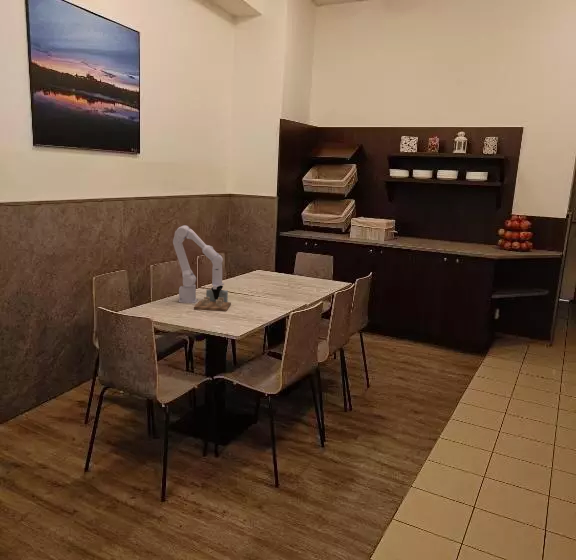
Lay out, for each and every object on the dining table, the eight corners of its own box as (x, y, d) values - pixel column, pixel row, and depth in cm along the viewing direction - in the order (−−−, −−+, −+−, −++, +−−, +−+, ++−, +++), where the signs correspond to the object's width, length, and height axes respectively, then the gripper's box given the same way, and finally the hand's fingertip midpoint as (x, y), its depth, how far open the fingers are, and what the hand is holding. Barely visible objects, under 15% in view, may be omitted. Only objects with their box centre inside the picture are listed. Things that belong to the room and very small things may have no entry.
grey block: (205, 302, 293) (206, 290, 291) (207, 300, 297) (207, 289, 295) (226, 303, 292) (226, 291, 291) (227, 302, 296) (227, 290, 295)
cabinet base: (193, 309, 277) (193, 300, 276) (199, 303, 290) (199, 294, 289) (226, 311, 276) (226, 302, 275) (230, 305, 289) (230, 296, 288)
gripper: (221, 278, 284) (221, 302, 287) (226, 273, 299) (226, 296, 301) (209, 278, 285) (209, 301, 287) (214, 273, 299) (214, 295, 302)
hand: (217, 298), depth 294 cm, fingers closed on grey block, 3 cm apart
